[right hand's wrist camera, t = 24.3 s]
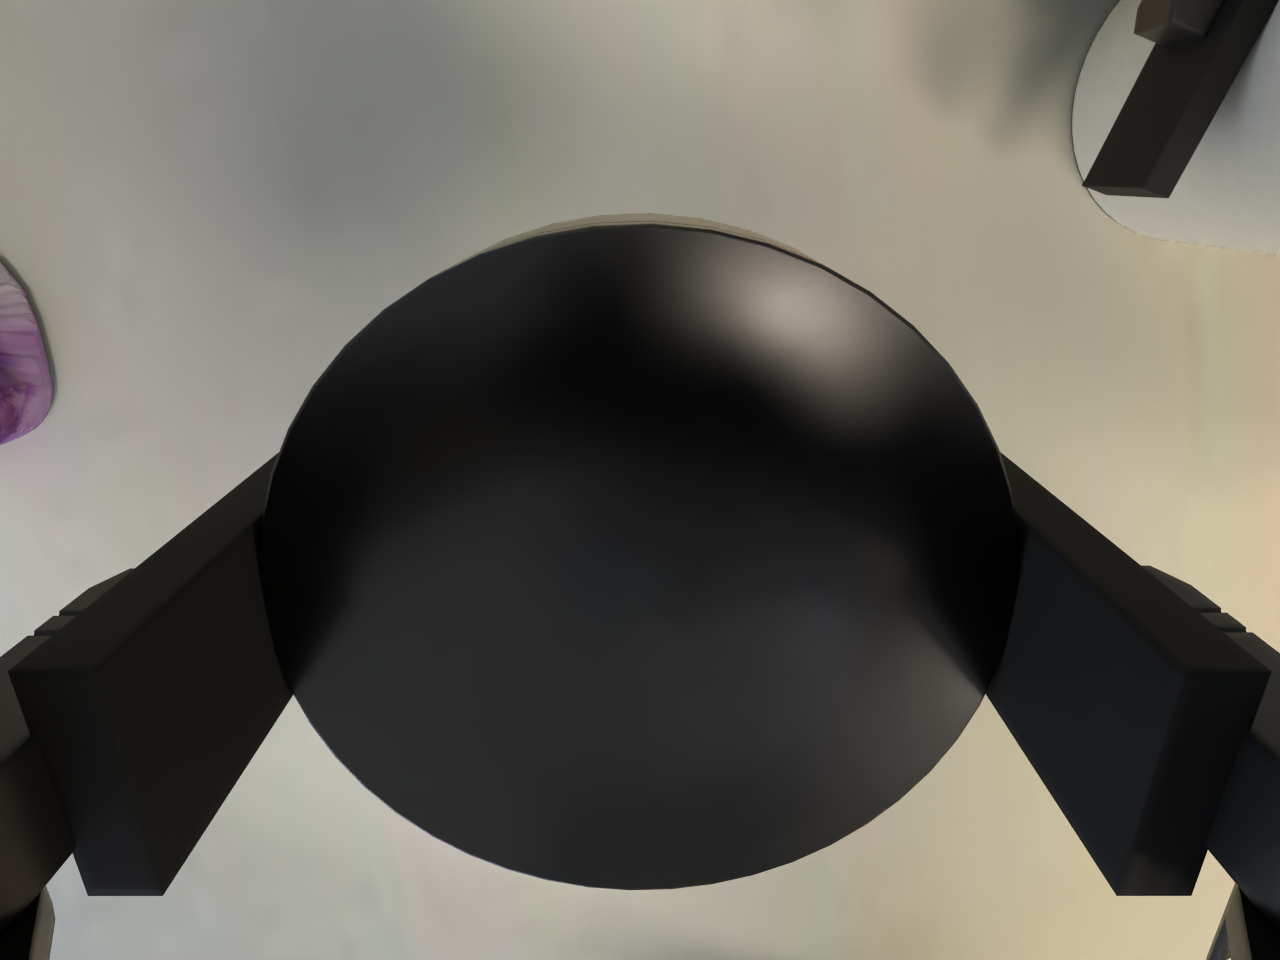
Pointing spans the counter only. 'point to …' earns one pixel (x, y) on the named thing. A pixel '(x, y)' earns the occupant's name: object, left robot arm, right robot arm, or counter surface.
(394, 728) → the lid
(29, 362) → the figurine
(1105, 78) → the jar
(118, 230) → the counter surface
